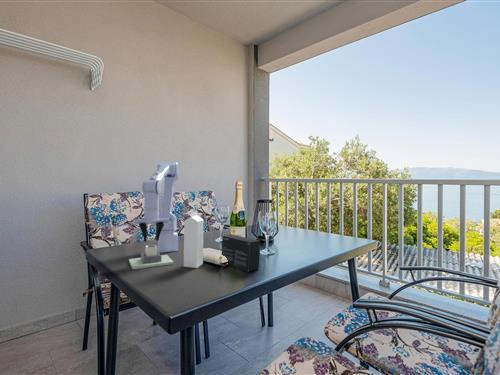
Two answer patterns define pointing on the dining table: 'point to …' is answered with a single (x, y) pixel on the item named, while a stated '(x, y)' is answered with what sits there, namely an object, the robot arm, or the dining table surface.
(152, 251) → the plug
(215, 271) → the dining table surface
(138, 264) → the board
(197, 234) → the milk
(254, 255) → the box
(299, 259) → the dining table surface
